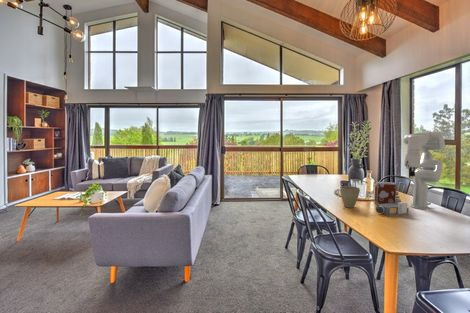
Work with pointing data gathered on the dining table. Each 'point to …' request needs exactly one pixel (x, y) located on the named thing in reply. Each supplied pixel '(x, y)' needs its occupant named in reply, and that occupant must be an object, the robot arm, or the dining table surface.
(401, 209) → the off-white foam block
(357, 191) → the plant pot
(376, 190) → the dark red boxy piece
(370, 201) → the dining table surface
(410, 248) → the dining table surface
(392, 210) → the housing
